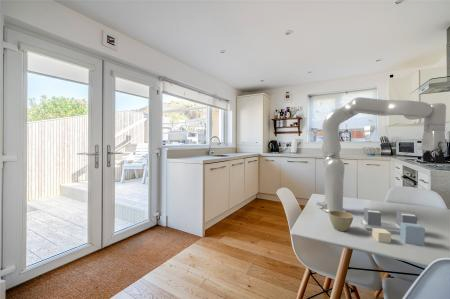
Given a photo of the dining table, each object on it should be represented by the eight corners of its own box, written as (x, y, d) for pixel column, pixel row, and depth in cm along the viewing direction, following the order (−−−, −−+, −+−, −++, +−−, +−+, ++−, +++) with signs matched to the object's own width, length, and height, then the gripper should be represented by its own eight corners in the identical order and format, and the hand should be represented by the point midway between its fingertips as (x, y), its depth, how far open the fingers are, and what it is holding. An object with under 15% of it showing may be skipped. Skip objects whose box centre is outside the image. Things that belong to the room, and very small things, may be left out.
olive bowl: (353, 235, 88) (353, 219, 88) (327, 230, 93) (327, 215, 93) (353, 227, 96) (353, 212, 96) (329, 223, 102) (329, 209, 101)
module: (405, 243, 81) (405, 226, 81) (399, 238, 86) (400, 222, 85) (424, 246, 79) (425, 228, 79) (417, 240, 84) (418, 224, 83)
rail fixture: (366, 230, 93) (366, 212, 93) (360, 222, 102) (361, 206, 101) (421, 237, 87) (421, 218, 86) (410, 228, 95) (410, 211, 95)
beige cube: (378, 242, 83) (378, 232, 82) (372, 237, 87) (372, 228, 87) (390, 243, 82) (391, 233, 82) (384, 238, 86) (384, 228, 86)
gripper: (415, 129, 111) (414, 160, 112) (435, 127, 95) (434, 163, 95) (432, 129, 109) (431, 160, 109) (457, 127, 92) (455, 164, 93)
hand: (432, 162), depth 102 cm, fingers open, 9 cm apart
